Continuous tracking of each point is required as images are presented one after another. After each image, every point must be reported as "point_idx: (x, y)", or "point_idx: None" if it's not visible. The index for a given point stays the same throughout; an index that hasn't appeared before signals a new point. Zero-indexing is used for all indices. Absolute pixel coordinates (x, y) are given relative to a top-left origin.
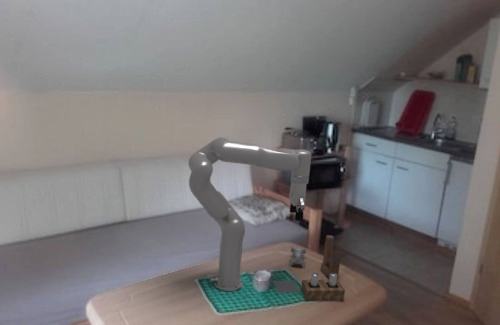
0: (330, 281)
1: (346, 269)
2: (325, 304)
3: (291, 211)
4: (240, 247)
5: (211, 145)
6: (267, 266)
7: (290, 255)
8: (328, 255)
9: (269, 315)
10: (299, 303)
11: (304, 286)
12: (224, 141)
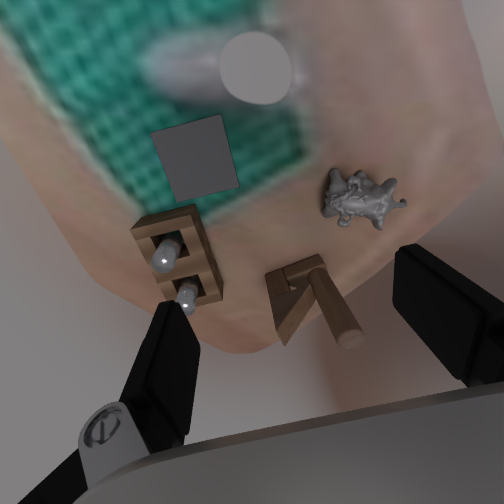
0: (180, 290)
1: None
2: None
3: (400, 265)
4: None
5: None
6: (326, 88)
7: (351, 176)
8: (316, 297)
9: (11, 111)
10: (123, 199)
11: (163, 219)
12: None
